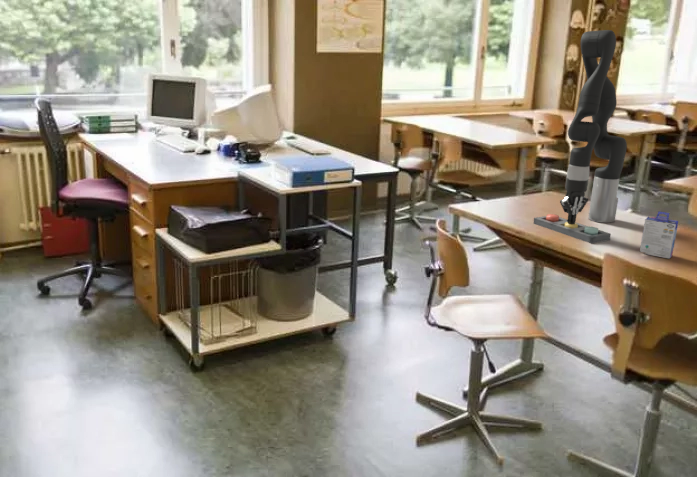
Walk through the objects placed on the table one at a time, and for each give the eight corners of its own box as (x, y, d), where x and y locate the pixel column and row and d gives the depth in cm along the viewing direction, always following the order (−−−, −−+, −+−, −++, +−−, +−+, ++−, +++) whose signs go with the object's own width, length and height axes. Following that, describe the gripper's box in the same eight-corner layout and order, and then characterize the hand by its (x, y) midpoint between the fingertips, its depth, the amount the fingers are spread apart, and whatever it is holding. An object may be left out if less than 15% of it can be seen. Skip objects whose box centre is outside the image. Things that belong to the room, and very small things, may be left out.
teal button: (581, 233, 245) (582, 227, 245) (589, 232, 248) (590, 225, 247) (591, 237, 242) (592, 230, 241) (600, 235, 244) (601, 229, 243)
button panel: (533, 225, 261) (534, 217, 260) (551, 222, 266) (552, 214, 265) (590, 245, 239) (591, 237, 238) (609, 241, 244) (610, 233, 243)
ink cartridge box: (672, 255, 232) (680, 213, 228) (670, 259, 228) (678, 217, 223) (641, 249, 237) (648, 208, 233) (638, 253, 233) (646, 212, 228)
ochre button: (561, 229, 253) (562, 222, 252) (569, 227, 255) (570, 221, 255) (571, 232, 249) (572, 226, 248) (579, 230, 252) (580, 224, 251)
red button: (543, 221, 260) (543, 214, 259) (551, 219, 262) (552, 213, 262) (552, 224, 256) (553, 218, 256) (561, 222, 259) (561, 216, 258)
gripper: (581, 173, 253) (575, 219, 258) (556, 176, 246) (550, 223, 251) (598, 178, 247) (591, 224, 252) (573, 181, 240) (566, 228, 245)
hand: (571, 223), depth 251 cm, fingers closed
